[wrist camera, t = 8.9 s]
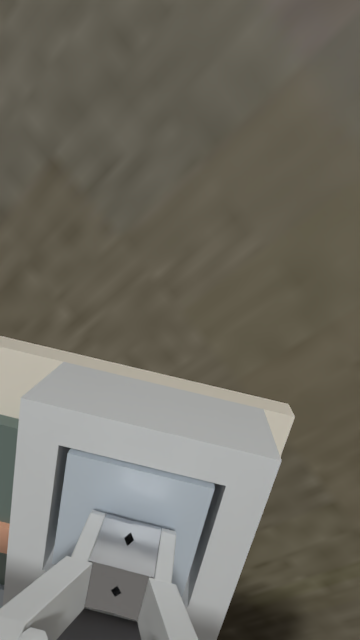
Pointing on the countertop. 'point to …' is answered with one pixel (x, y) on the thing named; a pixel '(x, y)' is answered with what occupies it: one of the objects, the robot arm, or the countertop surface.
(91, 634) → the key charcoal
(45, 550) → the keypad
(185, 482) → the key blue
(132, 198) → the countertop surface
